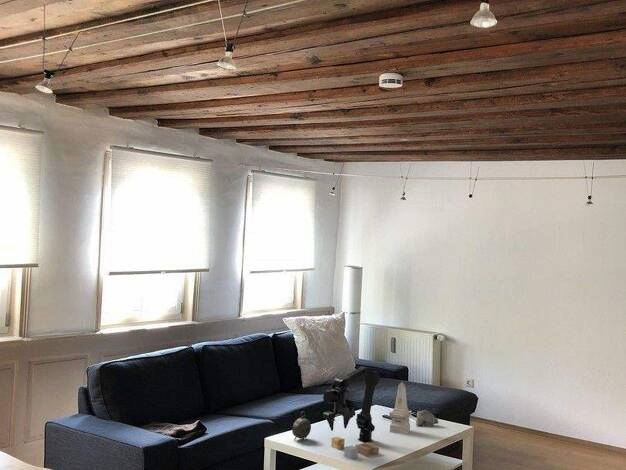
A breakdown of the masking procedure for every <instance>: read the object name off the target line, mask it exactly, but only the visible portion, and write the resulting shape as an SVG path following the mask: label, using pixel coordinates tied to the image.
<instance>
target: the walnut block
mask: <svg viewBox="0 0 626 470" xmlns="http://www.w3.org/2000/svg"><path fill="white" fill-rule="evenodd" d="M354 447H357V448H358V455H362V456H363V457H370V456H375V455H379V454H380V452H379V451H380V446H377V445H374V444H373V443H370V442H362V443H357V444H355V445H354Z"/></svg>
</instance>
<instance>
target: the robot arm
mask: <svg viewBox="0 0 626 470" xmlns="http://www.w3.org/2000/svg"><path fill="white" fill-rule="evenodd" d="M361 377H364V384H365V390H364V393H363V394H364V396H363V401H362V407H361V410H360V412H359V413H357V414H356V411H355V408H354V407H352V406H351V407H348V403H346V394H347V393H349V390H348V388H349V387H350V386H351V383H353V382H355V381H356V380H358V379H360V378H361ZM380 378H381V376H380V373H379V372H378V371H374V370H371V369H370V368H368V367H365V366H361V365H360V366H359V367H357V368H356V369H355V370H353V371H351V372H349V373H348V374H346V375H340V376H337V377H335V378H334V380H333V381H332V384H331V386H330V388H329V390H326V391H325V393H324V394H323V396H322V400H323V402H324V403H325V404H333V405H334V409H332V412H331V411H324V412H323V414H322V418H324V419H325V420H326V422H327V424H328V426H329V428H330V431H332V432H333V431H334V425H335V424H334V423H335V421H336V417H339V416H342V417H343V421H342V422H343V428H344V429H347V427H348V424H349V422H350V420H351V419H352V418H354V416H356V418H355V421H356V425H357V429H359V434H358V435H359V437H358V438H357V440H358V441H360V442H362V443H370V442H373V441H374V439H372V434H373V433H372V432H374V431H375V427H376V426H375V425H374V423H372V421H373V417H372V415H371V411H372V405H373V398H374V394H375V388H376V386H377V385H378V384H379V380H380Z"/></svg>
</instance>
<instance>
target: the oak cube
mask: <svg viewBox="0 0 626 470" xmlns="http://www.w3.org/2000/svg"><path fill="white" fill-rule="evenodd" d="M330 446H331V448H334V449H335V450H341V449H345V438H343V437H341V436H333V437H331V445H330Z"/></svg>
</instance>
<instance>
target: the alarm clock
mask: <svg viewBox="0 0 626 470" xmlns="http://www.w3.org/2000/svg"><path fill="white" fill-rule="evenodd" d="M303 412H304V415H300V417H299V418H297V419H296V420H295V421H294V423H293V424H292V428H291V431H292V432H291V433H292V434H293V436H294V437H295V438H294V439H293V440H294V441H293V442H295V441H296V439H300V440H303V441H305V439H307V437H308V436H309V435H310V432H311V430H312V425H311V422H310V421H309V419H307V418H305V416H306V411H305V410H303V411H301V412H300V414H302V413H303Z"/></svg>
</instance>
